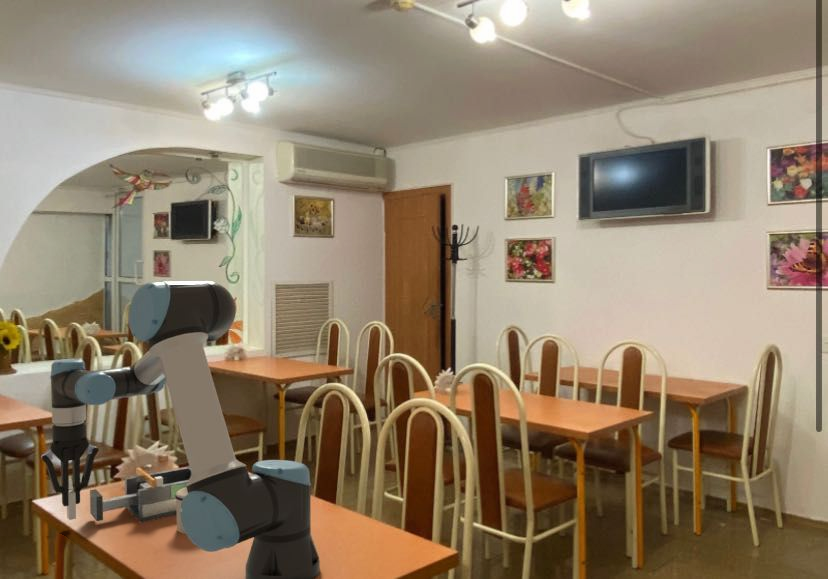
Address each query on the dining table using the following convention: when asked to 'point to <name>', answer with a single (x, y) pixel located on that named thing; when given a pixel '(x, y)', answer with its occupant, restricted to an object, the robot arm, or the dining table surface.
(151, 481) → the grey t-handle block
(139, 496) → the gauge housing
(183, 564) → the dining table surface
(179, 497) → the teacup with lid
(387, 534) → the dining table surface
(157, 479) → the marker
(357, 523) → the dining table surface
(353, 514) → the dining table surface
